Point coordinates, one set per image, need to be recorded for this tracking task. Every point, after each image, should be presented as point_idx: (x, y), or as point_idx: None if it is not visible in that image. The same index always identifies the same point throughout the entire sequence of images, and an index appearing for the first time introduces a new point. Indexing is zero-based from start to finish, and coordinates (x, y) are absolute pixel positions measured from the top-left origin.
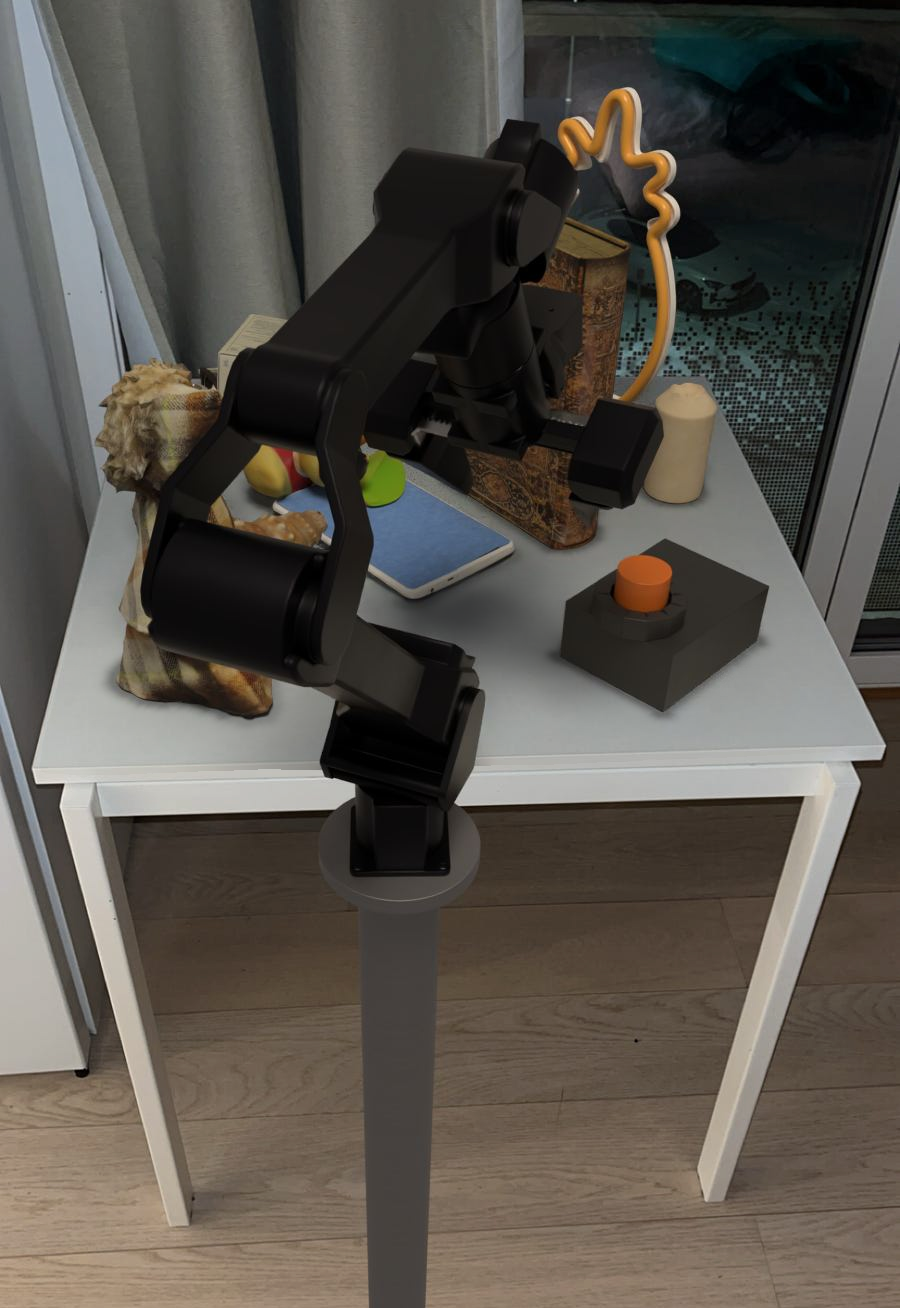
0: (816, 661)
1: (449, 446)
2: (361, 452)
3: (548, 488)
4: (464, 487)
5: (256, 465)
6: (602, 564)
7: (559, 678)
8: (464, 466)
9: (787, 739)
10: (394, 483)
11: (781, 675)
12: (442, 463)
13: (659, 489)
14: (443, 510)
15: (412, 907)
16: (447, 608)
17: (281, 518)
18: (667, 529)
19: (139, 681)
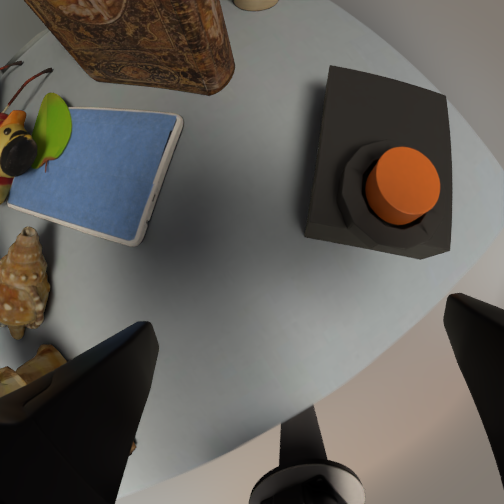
0: (465, 130)
1: (74, 458)
2: (21, 139)
3: (185, 59)
4: (149, 370)
5: None
6: (261, 90)
7: (321, 268)
8: (121, 374)
9: (496, 233)
10: (62, 120)
11: (460, 158)
12: (102, 481)
13: (253, 4)
14: (107, 119)
15: None
16: (170, 230)
17: (8, 264)
18: (281, 31)
19: None
